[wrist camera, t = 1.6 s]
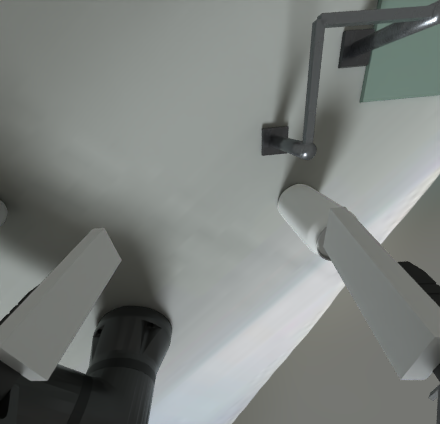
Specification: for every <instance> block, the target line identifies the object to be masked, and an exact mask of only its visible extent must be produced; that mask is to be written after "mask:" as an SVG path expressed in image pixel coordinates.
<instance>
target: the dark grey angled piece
mask: <svg viewBox="0 0 440 424" xmlns="http://www.w3.org/2000/svg"><path fill="white" fill-rule="evenodd" d="M384 23H392V24H390V25H388V26H386V27H384V28H382V29H380V30H378V31H376V32H375V29H363V30H350V31H345V32H343V36H342V43H341V51H340V58H339V65H338V68H347V67H359V66H367V65H368V64H369V59H370V53H371V51H372V50H374V49H377V48H379V47H382V46H384V45H387V44H389V43H392V42H395V41H397V40H400V39H402V38H405V37H407V36H410V35H412V34H415V33H417V32H420V31H422V30H425V29H427V28H430V27H432V26H435V25H437V24H440V0H438V1H436V2H434V3H432V4H430V5H428V6H416V7H402V8H388V9H374V10H360V11H346V12H333V13H322V14H321V15H319V16H318V17H317V20H316V21H315V22H314V23H313V24H312V36H311V47H310V59H309V71H308V83H307V94H306V106H305V118H304V130H303V141H299V140H295V139H290V138H288V126H286V127H276V128H265V129H262V155H263V156H264V155H274V154H284V153H289V154H292V155H294V156H297V157H300V158H302V159H305V160H310V159H312V158H313V157H314V156H315V154H316V151H317V149H316V146H315V145H314V144H313V135H314V126H315V116H316V107H317V97H318V88H319V79H320V69H321V60H322V50H323V41H324V31H325V28H331V27H344V26H358V25H371V24H384Z"/></svg>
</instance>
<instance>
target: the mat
mask: <svg viewBox="0 0 440 424" xmlns="http://www.w3.org/2000/svg"><path fill="white" fill-rule="evenodd" d="M436 1H438V0H378V6H377V9H388V8H402V7H416V6H428V5H430V4H432V3H434V2H436ZM390 24H392V23H384V24H374V27H373V29H375V32H376V31H378V30H380V29H382V28H384V27H386V26H388V25H390ZM435 95H440V24H437V25H435V26H432V27H430V28H427V29H425V30H422V31H420V32H417V33H415V34H412V35H410V36H407V37H405V38H402V39H400V40H397V41H395V42H392V43H389V44H387V45H384V46H382V47H379V48H377V49H374V50H372V51H371V53H370V59H369V64H368V65H367V66H366V71H365V76H364V81H363V87H362V92H361V98H360V102H370V101H380V100H391V99H402V98H413V97H424V96H435Z"/></svg>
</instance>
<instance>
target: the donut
mask: <svg viewBox="0 0 440 424" xmlns="http://www.w3.org/2000/svg"><path fill="white" fill-rule="evenodd" d="M7 215H8V211H7V208H6V206H5V204H4V203H3V202H2V201H1V200H0V226H1V225H2V224H3V223H4V222H5V220H6V217H7Z"/></svg>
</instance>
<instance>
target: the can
mask: <svg viewBox="0 0 440 424" xmlns="http://www.w3.org/2000/svg"><path fill="white" fill-rule="evenodd" d="M337 207H342V206H341V205H339V204H337V203H336V202H334V201H333V200H331V199H329V198H328V197H326V196H325V195H323V194H321V193H320V192H318V191H317V190H315V189H313V188H312V187H310V186H308V185H305V184H295V185H293V186H291V187H289V188H287V189H286V190H285V191H284V192H283V193H282V194H281V196H280V198H279V201H278V210H279V212H280V214H281V215H282V217H283V218H284V219H285V220H286V222H287V223H288V224H289V225H290V227H291V228H292V229H293V230H294V231H295V233H296V234H297V235H298V236H299V237H300V239H301V240H302V241H303V242H304V243H305V244H306V246H307V247H308V248H309V249H310V250H311V251H312V252H314V253H315V254H317V255H320V256H321V257H322V258H323V259H325V260H329V261H331V259H330V257H329V256H328V254H327V252H326V251H325V249H324V247H323V245H324V239H325V233H326V228H327V222H328V217H329V211H330V208H337ZM349 212H350V211H349ZM350 213H351V212H350ZM351 214H352V215H353V216H354V217H355V218H356V216H355V215H354V214H353V213H351ZM356 219H357V218H356Z"/></svg>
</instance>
